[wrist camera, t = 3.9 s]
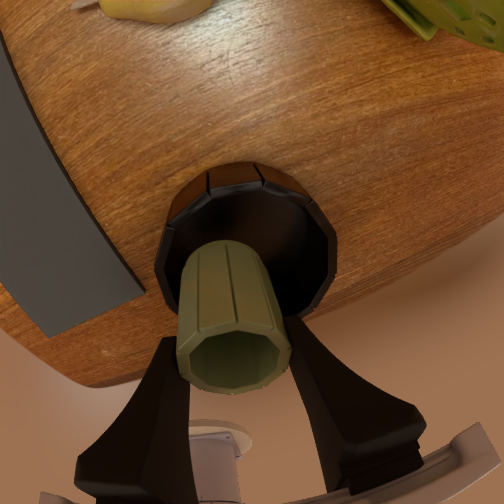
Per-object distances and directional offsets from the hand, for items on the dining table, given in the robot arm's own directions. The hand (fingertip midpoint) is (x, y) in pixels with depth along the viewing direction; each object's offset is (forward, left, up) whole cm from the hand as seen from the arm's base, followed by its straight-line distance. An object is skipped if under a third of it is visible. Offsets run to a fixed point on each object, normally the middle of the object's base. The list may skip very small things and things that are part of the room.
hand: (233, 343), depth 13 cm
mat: (+29, +22, -10) cm, 37 cm away
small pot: (+1, 0, -4) cm, 5 cm away
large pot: (0, -1, -10) cm, 10 cm away
